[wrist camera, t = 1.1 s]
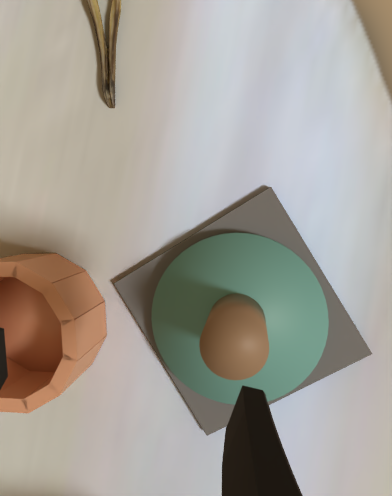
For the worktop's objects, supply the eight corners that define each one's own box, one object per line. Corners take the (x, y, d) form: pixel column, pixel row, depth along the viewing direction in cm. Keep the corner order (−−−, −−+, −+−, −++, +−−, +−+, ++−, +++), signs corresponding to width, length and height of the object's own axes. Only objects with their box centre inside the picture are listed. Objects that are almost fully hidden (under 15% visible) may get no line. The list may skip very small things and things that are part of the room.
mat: (369, 351, 21) (372, 353, 21) (207, 432, 23) (206, 435, 23) (270, 187, 21) (270, 186, 21) (116, 282, 23) (113, 283, 22)
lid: (359, 350, 21) (391, 391, 16) (209, 425, 22) (198, 482, 18) (267, 199, 21) (273, 195, 16) (124, 286, 22) (91, 306, 18)
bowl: (130, 342, 23) (105, 369, 19) (29, 400, 25) (-13, 436, 21) (60, 228, 23) (21, 232, 19) (-37, 294, 25) (-92, 309, 21)
